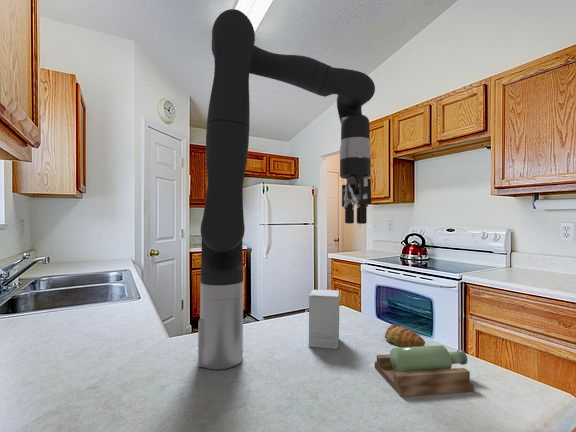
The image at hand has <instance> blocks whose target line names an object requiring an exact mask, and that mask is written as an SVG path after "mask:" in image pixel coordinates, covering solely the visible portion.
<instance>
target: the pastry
mask: <svg viewBox="0 0 576 432" xmlns="http://www.w3.org/2000/svg"><path fill="white" fill-rule="evenodd" d="M384 338H385V340H386V341H387V342H389V343H392V344H393V345H395V346H398V347H401V348H403V347H420V346H426V345H425V344H426V341H425V339H424V338H423V337H421V335H420V334H417V333H416V332H415V331H412V329H410V328H408V327H405V326H398V325H396V324H390V325H389V326H388V327H387V329H386V330H385V333H384Z"/></svg>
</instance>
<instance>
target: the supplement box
mask: <svg viewBox="0 0 576 432" xmlns="http://www.w3.org/2000/svg"><path fill="white" fill-rule="evenodd" d="M339 339H340V290H335V289H334V290H333V289H330V290H329V289H312V290H311V292H310V294H309V295H308V347H309V348H318V349H331V350H332V349H333V350H338V349H339Z"/></svg>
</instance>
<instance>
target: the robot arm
mask: <svg viewBox="0 0 576 432" xmlns="http://www.w3.org/2000/svg"><path fill="white" fill-rule="evenodd" d="M255 41H256V34H255V29H254V26H253V23H252V21H251V19H249V17H248V15H246V14H245V13H244V12H243V11H241V10H239V9H235V8H230V9H226V10H224V11H222V12H221V13H220V14H219V15H218V16H217V17H216V19H215V20H214V23H213V26H212V29H211V52H212V55H213V59H214V72H213V79H212V80H213V81H212V87H211V92H210V97H209V102H208V103H209V104H208V109H207V110H208V111H207V119H206V132H205V161H206V162H205V164H206V175H207V176H206V177H207V186H206V187H207V188H206V196H205V201H204V202H205V203H204V204H205V205H204V208H203V214H202V215H203V216H202V220H201V223H200V236H201V248H200V249H201V252H200V253H201V258H200V260H201V261H200V293H199V294H200V301H199V303H200V305H199V306H200V308H199V317H200V318H199V320H198V322H197V323H198V326H197V328H198V329H197V330H198V332H197V333H198V334H197V337H198V338H197V345H198V346H197V367H198V368H206V369H209V370H225V369H230V368H233V367H236V366H238V365H239V364H240V363H241V362H242V361H243V358H244V357H243V356H244V354H243V353H244V347H243V346H244V263H243V262H244V261H243V239H244V236H245V231H246V229H245V228H246V227H245V217H244V201H243V200H244V199H243V198H244V191H243V190H244V189H243V187H244V181H245V180H244V179H245V174H246V169H247V163H248V153H249V143H250V142H249V141H250V118H251V117H250V113H251V112H250V111H251V110H250V104H251V102H250V84H249V83H250V74H251V75H255V76H259V77H264V78H267V79H271V80H275V81H278V82H282V83H286V84H288V85H292V86H294V87H297V88H299V89H302V90H304V91H306V92H307V91H308V92H310V93H312V94H315V95H317V96H321V97H324V98H326V97H329V96H332V95H337V96H336V107H337V114H338V118H339V121H340V146H339V147H340V148H339V177H340V178H341V179H343V180H344V179H345V180H346V184H342V186H341V207H342V208H343V209H344V223H345V224H349V225H350V224H354V223H355V206H356V224H358V225H362V224H363V225H365V224H367V222H368V221H367V212H368V211H367V209H368V207H369V205H371V204H372V180H371V178H370V177H371V176H372V174H371V173H372V170H371V169H372V163H371V162H372V160H371V159H372V157H371V156H372V150H371V141H370V139H371V138H370V135H371V134H370V133H371V132H370V131H371V130H370V126H371V125H370V119H369V118H368V117H367V116H366V115H365V114H363V112H362V107H363V106H364V105H366V104H367V103H368V102H369V101H371V100H372V98H373V97H374V95H375V92H376V87H375V83H374V81H373V79H372V78H371V77H370V76H369V75H367V74H366V73H364V72H362V71H359V70H354V69H349V68H348V69H347V68H341V67H333V66H331V65H328V64H327V63H325V62H321V61H319V60H317V59H315V58H312V57H310V56H305V55H301V54H300V55H297V54H286V53H285V54H284V53H283V54H282V53H278V52H277V53H276V52H271V51H268V50H266V49H265V50H264V49H263V48H261V47H259V46H256V45H255V43H256V42H255Z"/></svg>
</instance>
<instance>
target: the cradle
mask: <svg viewBox="0 0 576 432" xmlns="http://www.w3.org/2000/svg"><path fill="white" fill-rule="evenodd" d="M374 369H375V370H376V371H377V372H378V373H379V374H380V375H381V376H382V377H383V379H384V380H385V381H386V382H387V383H388V384H389V385H390V386H391V388H392V389H394V391H395V392H396V393H397V394H398V395H399V396H400V397H402V398H403V397H415V396H429V395H440V394H441V395H442V394H454V393H467V392H474V391H475V384H474V383H472V382H471V379H470V377H471V375H470V374H471V371H469V370H468V369H467V368H465V367H458V368H456V367H455V368H451V369H439V370H424V371H409V372H394V371H393V368H392V366H391V361H390V354H388V353H387V354H377V355H376V361H374Z"/></svg>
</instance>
